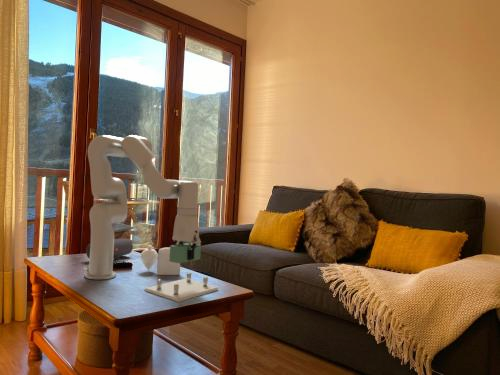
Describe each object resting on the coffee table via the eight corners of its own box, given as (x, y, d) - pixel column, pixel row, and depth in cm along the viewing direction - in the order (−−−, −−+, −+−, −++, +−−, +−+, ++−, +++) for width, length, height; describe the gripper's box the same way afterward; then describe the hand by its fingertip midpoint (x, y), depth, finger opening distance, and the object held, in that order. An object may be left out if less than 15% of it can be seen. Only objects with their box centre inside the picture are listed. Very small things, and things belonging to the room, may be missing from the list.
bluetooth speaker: (97, 264, 193) (98, 243, 193) (84, 260, 198) (85, 240, 197) (133, 257, 212) (134, 238, 212) (120, 254, 217) (121, 236, 217)
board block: (169, 261, 154) (170, 245, 154) (191, 257, 164) (191, 242, 164) (178, 263, 151) (179, 247, 151) (200, 259, 161) (200, 244, 161)
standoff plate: (145, 290, 154) (146, 278, 154) (185, 281, 172) (186, 270, 172) (178, 301, 144) (179, 288, 144) (217, 290, 162) (218, 278, 162)
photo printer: (156, 275, 179) (158, 248, 178) (156, 273, 183) (158, 246, 182) (179, 276, 180) (181, 248, 180) (179, 273, 185) (181, 247, 184)
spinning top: (137, 270, 186) (139, 244, 186) (153, 269, 190) (155, 243, 190) (142, 273, 180) (144, 247, 179) (159, 272, 184) (160, 246, 183)
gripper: (165, 210, 159) (163, 256, 160) (196, 214, 149) (194, 263, 150) (179, 210, 165) (176, 254, 166) (210, 214, 156) (207, 260, 156)
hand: (185, 257), depth 158 cm, fingers closed on board block, 5 cm apart
